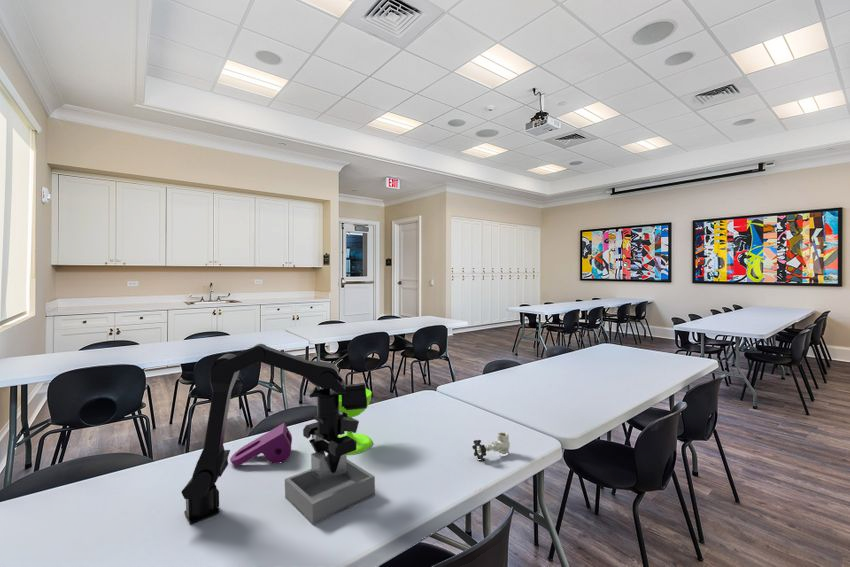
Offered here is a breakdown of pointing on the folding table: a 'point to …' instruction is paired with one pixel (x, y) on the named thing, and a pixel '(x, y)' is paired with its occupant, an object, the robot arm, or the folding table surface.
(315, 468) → the grey bevelled block
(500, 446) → the valve
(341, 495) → the open box
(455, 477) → the folding table surface
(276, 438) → the mounting bracket
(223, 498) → the folding table surface
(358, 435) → the wineglass
